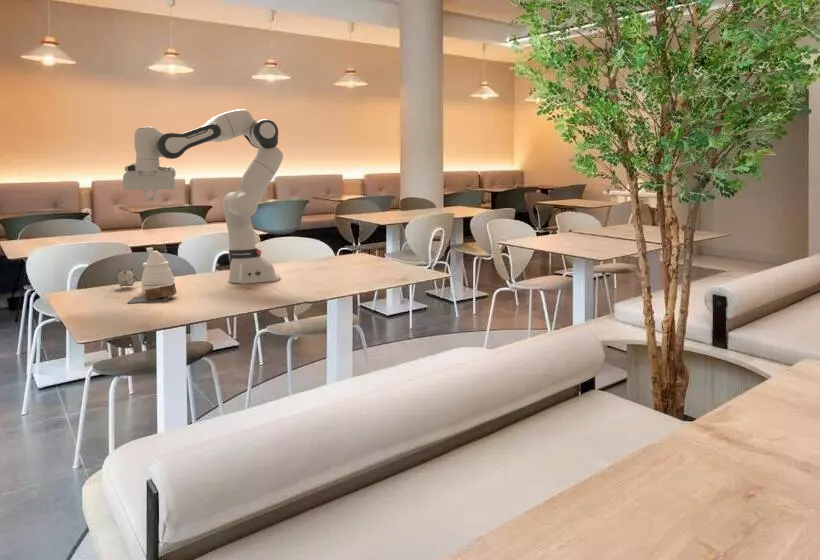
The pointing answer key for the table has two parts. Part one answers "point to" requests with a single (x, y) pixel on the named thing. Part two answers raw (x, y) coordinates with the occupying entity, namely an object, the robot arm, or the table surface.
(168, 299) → the rail
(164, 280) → the honey pot
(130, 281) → the twenty-sided die
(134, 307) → the table surface
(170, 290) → the walnut block
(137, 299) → the mat
